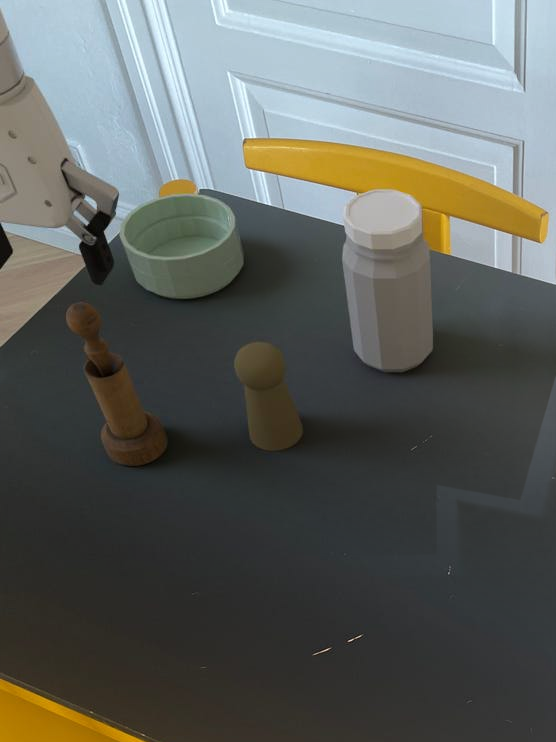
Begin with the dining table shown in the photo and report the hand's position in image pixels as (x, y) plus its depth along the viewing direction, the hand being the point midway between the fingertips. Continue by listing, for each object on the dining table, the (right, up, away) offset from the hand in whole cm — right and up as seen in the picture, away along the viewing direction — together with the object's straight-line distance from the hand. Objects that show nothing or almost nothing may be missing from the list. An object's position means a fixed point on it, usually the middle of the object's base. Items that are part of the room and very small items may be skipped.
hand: (53, 268), depth 81 cm
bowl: (+1, +15, +36) cm, 39 cm away
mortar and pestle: (+1, -12, +18) cm, 22 cm away
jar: (+28, +1, +28) cm, 40 cm away
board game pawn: (+16, -10, +20) cm, 27 cm away
